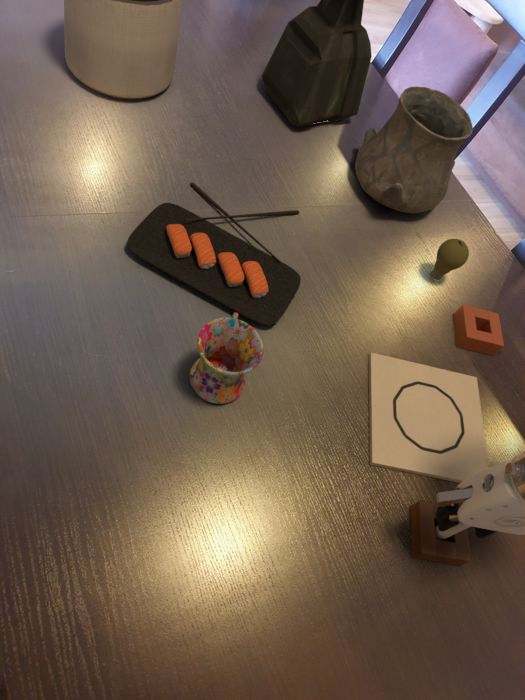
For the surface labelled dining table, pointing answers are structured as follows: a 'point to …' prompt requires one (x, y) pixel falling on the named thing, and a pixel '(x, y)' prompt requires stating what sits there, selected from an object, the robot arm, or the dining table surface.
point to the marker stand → (425, 542)
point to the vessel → (413, 151)
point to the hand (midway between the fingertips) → (459, 523)
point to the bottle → (320, 63)
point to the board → (425, 420)
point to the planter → (122, 45)
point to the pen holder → (478, 330)
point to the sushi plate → (217, 260)
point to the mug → (225, 359)
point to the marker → (450, 531)
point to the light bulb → (449, 257)
